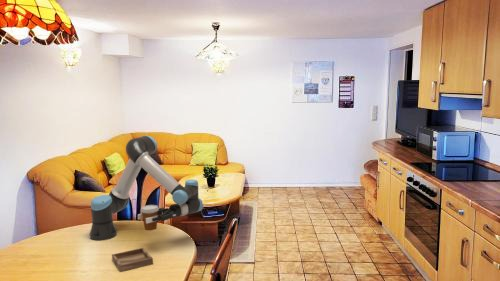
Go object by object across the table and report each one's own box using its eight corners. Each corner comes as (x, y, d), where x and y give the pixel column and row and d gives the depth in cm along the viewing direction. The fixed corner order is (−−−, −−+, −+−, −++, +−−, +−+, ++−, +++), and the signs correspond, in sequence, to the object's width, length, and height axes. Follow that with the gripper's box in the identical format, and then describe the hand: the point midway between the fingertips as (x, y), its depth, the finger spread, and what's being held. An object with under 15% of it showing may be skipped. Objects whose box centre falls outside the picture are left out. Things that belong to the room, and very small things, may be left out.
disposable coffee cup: (155, 232, 214) (154, 210, 212) (138, 231, 216) (137, 209, 214) (162, 226, 223) (161, 205, 222) (146, 225, 225) (145, 204, 223)
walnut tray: (112, 260, 207) (112, 254, 206) (143, 253, 215) (142, 247, 215) (120, 272, 193) (120, 266, 193) (153, 264, 202) (152, 258, 201)
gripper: (189, 220, 224) (152, 230, 208) (168, 212, 239) (133, 221, 224) (188, 207, 223) (151, 216, 207) (168, 199, 238) (132, 208, 223)
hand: (142, 219), depth 215 cm, fingers closed on disposable coffee cup, 8 cm apart
